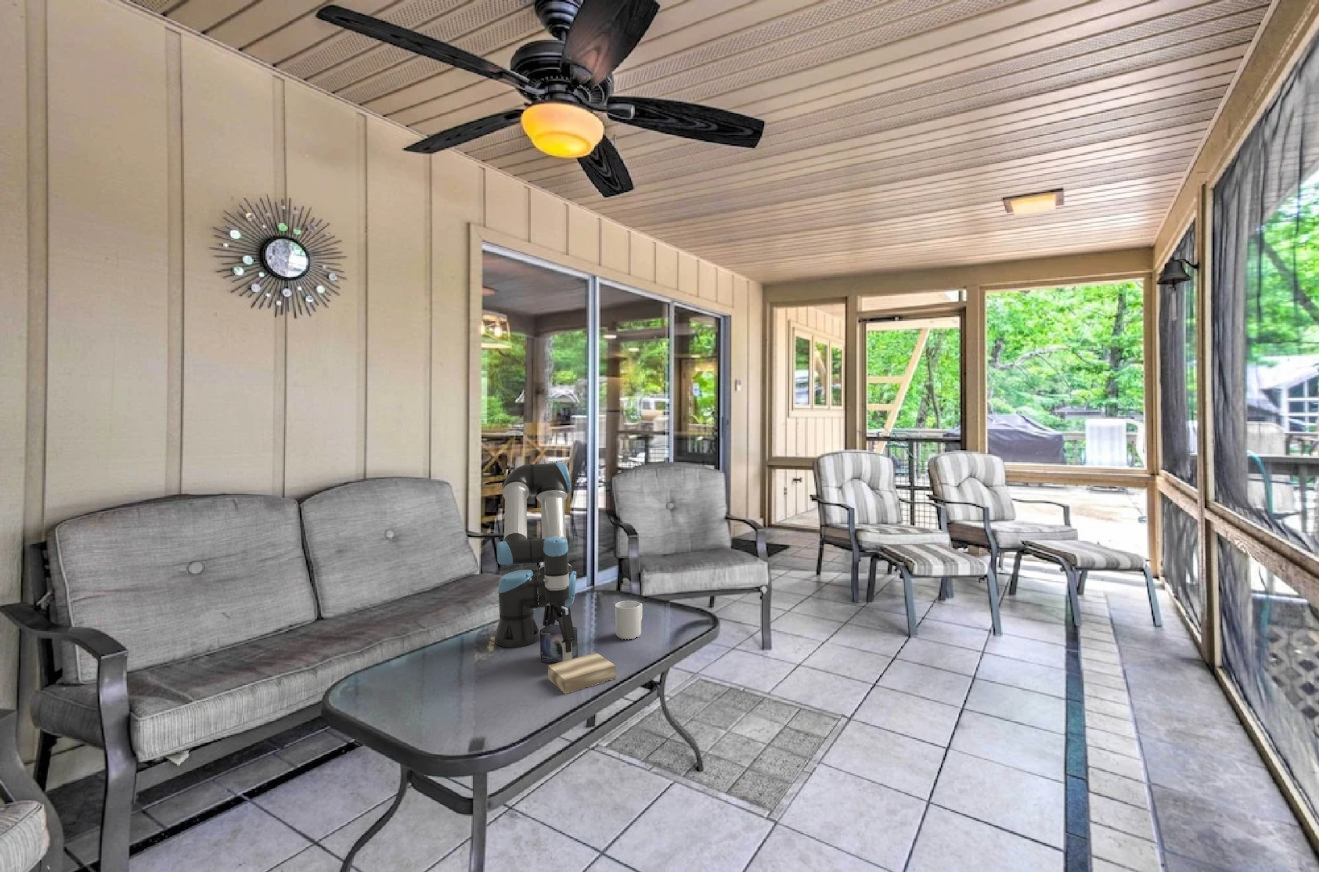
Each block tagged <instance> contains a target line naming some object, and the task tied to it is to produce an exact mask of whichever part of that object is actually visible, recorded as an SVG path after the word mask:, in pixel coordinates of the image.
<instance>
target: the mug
mask: <svg viewBox="0 0 1319 872" xmlns="http://www.w3.org/2000/svg"><path fill="white" fill-rule="evenodd" d="M614 614H615V615H614V618H615V619H614V620H615V636H616V637H618V639H620V638H621V639H620V640H623V639H625V640H624V641H629V639H632V640H636V639H637V638H636V637H638V638H639V637H640V635H642V620H643V603H641V602H639V601H637V600H623V601H619V602H616V603H615V604H614ZM635 638H636V639H635ZM626 639H628V640H626Z"/></svg>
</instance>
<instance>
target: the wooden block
mask: <svg viewBox="0 0 1319 872" xmlns="http://www.w3.org/2000/svg"><path fill="white" fill-rule="evenodd" d="M616 667H617V666H616V665H615V664H614V663H613V662H611V661H609V660H608V659H607V658H605V657H603V656H602V655H600V653H598V652H592V653H590V654H586V655H581V656H578V658H574V659H570V660H567V661H563V662H559V663H556V664H548V665H547V676H548V677H547V678H548V679H547V680H548V681H550V682H551V683H552V685H555V687H557V688H558V689H559V690H560V691H561V692H562V691H563V694H564V695H567V694H566V693H568V694H570V693H569V692H571V693H573V692H572V691H574V692H577V690H578V691H581V690H584V689H586V688H585V687H588V688H591V687H593V686H592V685H594V686H596V685H595V684H597V683H601V684H603V683H602V682H604V681H607V680H610V679H614V680H616V679H617V673H616V672H617V671H616V670H617V669H616ZM615 678H616V679H615ZM604 683H605V682H604ZM590 686H591V687H590ZM583 688H584V689H583ZM580 689H581V690H580Z"/></svg>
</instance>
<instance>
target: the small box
mask: <svg viewBox="0 0 1319 872" xmlns="http://www.w3.org/2000/svg"><path fill="white" fill-rule="evenodd" d="M573 630H574V635H575V640H574V641H571V643H572V659H574V658H578V657H579V647H578V645H579V644H578V643H579V642H578V641H579V640H578V627H577V626H573ZM539 631H540V638H539V647H540V648H539V650H540V651H539V652H540V656H539V657H540V663H544V664H548V665H552V664H556V663H559V662H563V649H562V641H563V636H562V633H561V629H560V626H559V624H549V625H547V626H546V627H545V626H543V628H541V629H539Z"/></svg>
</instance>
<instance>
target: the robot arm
mask: <svg viewBox="0 0 1319 872" xmlns="http://www.w3.org/2000/svg"><path fill="white" fill-rule="evenodd" d="M570 493H572V483H571V476H570V473H569V468H568V466H567V464H565V463H563V462H562V463H561V462H558V463H557V462H550V463H532V464H531V463H527V464H522V465H520V466H517V468H515V469H514V470H512V471H511V472H510V473H509V474H508V475H507V477H506V478H505V480H504V482H503V485H502V497H503V499H504V526H503V529H504V530H503V541H499V542H497V545H496V557H497V558H496V559H497V563H498V564H499V565H500V566H507V565H508V566H512V565H514V566H515V565H523V564H536V563H542V565H541V566H540V567H538V573H536V574H535V573H534V572H533V570H531V569H519V570H513V571H511V572H508V573H506V574H504V575H502V576H501V577H500V578H499V579H498V589H497V593H498V612H499V615H498V616H499V619H498V620H499V621H498V622H497V623H498V624H497V628H496V631H495V633H494V634H495V635H494V643H495V644H496V645H497V646H498V645H499V647H501V646H502V647H501V648H521V647H526V646H529V645H532V644H534V643H536V642H537V641H540V628H539V626H538V623H537V620H536V618H535V609H544V612H543V619H542V626H543V627H546V626H547V625H549V624H555V623H556V622H558V625H559V626H560V629H561V633H562V636H563V641H562V649H563V661H567V660H570V659H572V643H571V641H574V640H575V635H574V630H573V627H574V625H573V619H572V614H571V607H570V606H571V605H573V603H574V602H575V595H576V587H577V586H576V583H577V571H575V570H573V566H572V565H571V564H570V563H569V545H568V543H569V542H568V539H567V534H566V533H567V532H566V518H565V516H566V514H565V501H566V500H567V498H568V495H569V494H570ZM531 495H533V496H534V495H536V500H537V501H538V502H539V503H540V514H541V515H540V516H541V517H540V518H541V538H538V539H528V515H527V513H528V512H527V510H528V506H527V502H528V500H527V499H528V498H529V496H531ZM555 625H556V624H555Z"/></svg>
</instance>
